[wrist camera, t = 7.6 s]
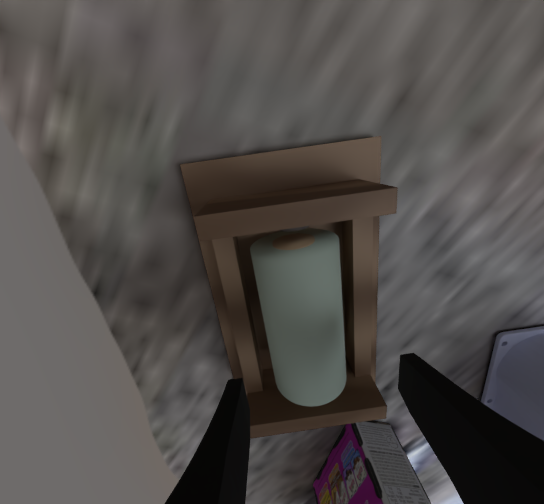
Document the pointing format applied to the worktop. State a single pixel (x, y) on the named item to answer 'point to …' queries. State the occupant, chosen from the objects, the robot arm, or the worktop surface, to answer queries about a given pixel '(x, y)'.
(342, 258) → the roll cradle
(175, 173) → the worktop surface
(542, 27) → the worktop surface
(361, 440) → the candy bar box
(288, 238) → the paper roll
